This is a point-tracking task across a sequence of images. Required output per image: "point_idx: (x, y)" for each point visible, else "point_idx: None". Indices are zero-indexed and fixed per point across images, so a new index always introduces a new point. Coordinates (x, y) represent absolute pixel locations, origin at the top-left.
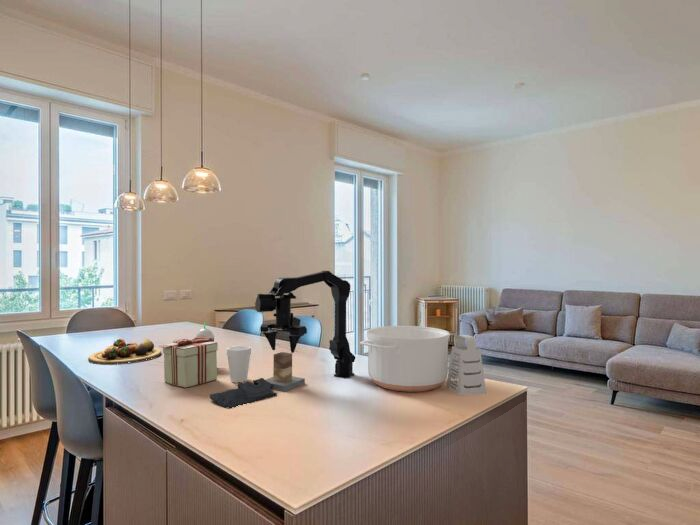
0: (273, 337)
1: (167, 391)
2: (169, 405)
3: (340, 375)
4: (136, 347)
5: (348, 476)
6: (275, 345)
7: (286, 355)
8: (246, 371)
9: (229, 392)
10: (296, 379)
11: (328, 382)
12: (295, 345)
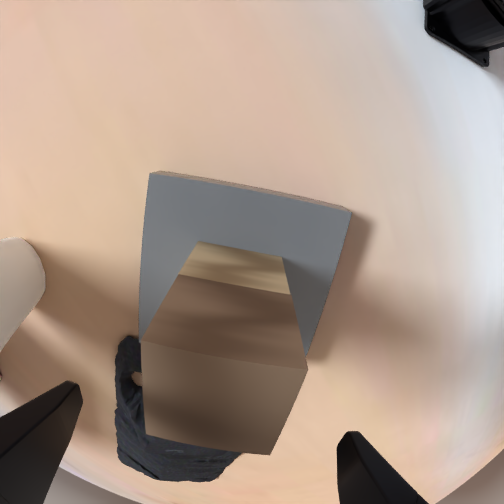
0: (7, 495)
1: (2, 397)
2: (88, 465)
3: (460, 45)
4: None
5: (449, 493)
6: (54, 412)
7: (279, 432)
8: (22, 296)
9: (169, 472)
10: (310, 251)
11: (445, 148)
12: (398, 492)
